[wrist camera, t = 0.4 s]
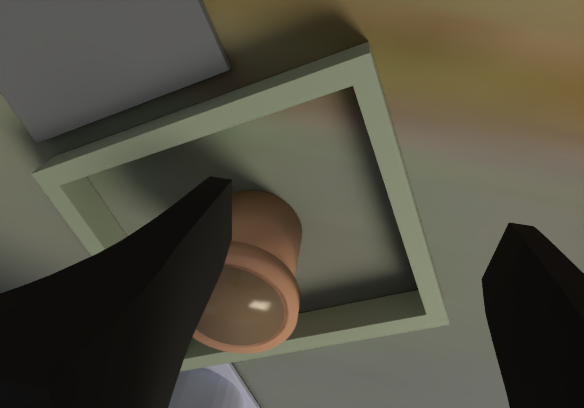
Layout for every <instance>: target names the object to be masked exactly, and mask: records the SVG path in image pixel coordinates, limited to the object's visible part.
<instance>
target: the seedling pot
mask: <svg viewBox="0 0 584 408" xmlns="http://www.w3.org/2000/svg"><path fill="white" fill-rule="evenodd" d="M301 239H302V227H301V223H300V220H299V218H298V216H297V214H296V212H295V211H294V210H293V208H292V207H291V206H290V205H289V204H287V203H286V202H285V201H284V200H282V199H281V198H279V197H277V196H275V195H273V194H270V193H267V192H263V191H256V190H248V191H241V192H237V193H234V194H232V240H231V243H230V247H229V250H228V254H227V257H226V260H225V263H224V266H223V270H222V272H221V274H220V277H219V279H218V281H217V283H216V286H215V288H214V290H213V292H212V295H211V297H210V299H209V301H208V303H207V306H206V308H205V310H204V312H203V315H202V317H201V319H200V321H199V323H198V326H197V328H196V330H195V332H194V334H193V338H194V339H196V340H197V341H199V342H201V343H203V344H205V345H207V346H210V347H212V348H215V349H218V350H221V351H226V352H231V353H241V354H247V353H258V352H262V351H266V350H269V349H272V348H274V347H276V346H278V345H280V344H281V343H283V342H284V341H285V340H286V339H287V338H288V337H289V336H290V335H291V334H292V332H293V330H294V328H295V326H296V323H297V319H298V312H299V305H300V290H299V286H298V283H297V281H296V279H295V275H296V269H297V263H298V257H299V251H300V245H301Z"/></svg>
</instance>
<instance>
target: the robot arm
mask: <svg viewBox="0 0 584 408" xmlns="http://www.w3.org/2000/svg"><path fill="white" fill-rule="evenodd" d="M231 240H232V180H230V179H224V178H217V177H211V176H210V177H209V178H207V179H206V180H204V181H203V182H202V183H201V184H199V185H198V186H197V187H195V188H194V189H193V190H192V191H190V192H189V193H188V194H187V195H185V196H184V197H183V198H182V199H180V200H179V201H178V202H176V203H175V204H174V205H172V206H171V207H170V208H168V209H167V210H166V211H164V212H163V213H162V214H160V215H159V216H158V217H156V218H155V219H153V220H152V221H150V222H149V223H147V224H146V225H144V226H143V227H141V228H140V229H138V230H137V231H135V232H134V233H132V234H131V235H129V236H128V237H126V238H124V239H123V240H121V241H119V242H117V243H116V244H114V245H112V246H110V247H108V248H106V249H105V250H103V251H101V252H99V253H97V254H95V255H93V256H91V257H89V258H87V259H85V260H83V261H80V262H78V263H76V264H74V265H72V266H70V267H67V268H65V269H63V270H61V271H59V272H56V273H54V274H52V275H49V276H47V277H44V278H42V279H39V280H37V281H34V282H32V283H29V284H26V285H23V286H21V287H18V288H15V289H12V290H10V291H7V292H4V293H1V294H0V408H260V407H259V405H258V404H257V402H256V401H255V399H254V398H253V396H252V394H251V393H250V391H249V390H248V388H247V387H246V385H245V384H244V382H243V381H242V379H241V377H240V376H239V374H238V373H237V371H236V370H235V368H234V367H233V365H232V364H231V363H226V364H220V365H215V366H209V367H203V368H197V369H192V370H186V371H180V369H181V366H182V363H183V360H184V357H185V354H186V352H187V349H188V347H189V344H190V342H191V339H192V337H193V334H194V332H195V330H196V328H197V326H198V323H199V321H200V319H201V317H202V315H203V312H204V310H205V308H206V306H207V303H208V301H209V299H210V297H211V295H212V292H213V290H214V288H215V286H216V283H217V281H218V279H219V277H220V274H221V272H222V270H223V266H224V263H225V260H226V257H227V254H228V250H229V247H230V243H231ZM482 287H483V297H484V305H485V313H486V317H487V322H488V326H489V329H490V333H491V337H492V341H493V345H494V348H495V352H496V356H497V359H498V363H499V367H500V371H501V374H502V378H503V382H504V385H505V389H506V393H507V397H508V402H509V406H510V408H584V273H582V272H581V271H580V270H579V269H578V268H577V267H576V266H575V265H574V264H573V263H572V262H571V261H570V260H569V259H568V258H567V257H566V256H565V255H564V254H563V253H562V252H561V251H560V250H559V249H558V248H557V247H556V246H555V245H554V244H553V243H552V242H551V241H549V240H548V239H547V238H546V237H545V236H544V235H543V234H542V233H541V232H540V231H539V230H537V229H536V228H535V227H534V226H528V225H522V224H515V223H508V226H507V228H506V230H505V232H504V234H503V236H502V238H501V240H500V242H499V244H498V246H497V248H496V251H495V253H494V255H493V257H492V259H491V261H490V263H489V265H488V267H487V269H486V271H485V273H484V276H483V278H482Z"/></svg>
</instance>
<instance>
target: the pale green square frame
mask: <svg viewBox="0 0 584 408" xmlns="http://www.w3.org/2000/svg"><path fill="white" fill-rule="evenodd" d="M351 86H353V87H354V91H355V94H356V97H357V100H358V103H359V106H360V109H361V112H362V115H363V119H364V122H365V125H366V128H367V131H368V134H369V137H370V140H371V143H372V147H373V150H374V153H375V156H376V159H377V162H378V165H379V168H380V171H381V175H382V178H383V181H384V184H385V187H386V190H387V193H388V196H389V200H390V203H391V206H392V209H393V212H394V215H395V218H396V221H397V224H398V228H399V231H400V234H401V237H402V240H403V243H404V246H405V249H406V252H407V256H408V259H409V262H410V265H411V268H412V271H413V274H414V277H415V281H416V284H417V287H418V290H415V291H410V292H405V293H399V294H394V295H389V296H384V297H379V298H374V299H369V300H364V301H359V302H354V303H349V304H344V305H339V306H334V307H329V308H324V309H319V310H314V311H309V312H304V313H299V314H298V319H297V323H296V326H295V328H294V330H293V332H292V334H291V335H290V336H289V337H288V338H287V339H286V340H285V341H284V342H283V343H281V344H280V345H278V346H276V347H274V348H272V349H269V350H266V351H262V352H258V353H247V354H241V353H231V352H226V351H221V350H218V349H215V348H212V347H210V346H207V345H205V344H203V343H201V342H199V341H197V340H196V339H194V338H193V337H192V339H191V342H190V344H189V347H188V349H187V352H186V354H185V357H184V360H183V363H182V366H181V369H180V371H186V370H192V369H197V368H203V367H209V366H215V365H220V364H226V363H232V362H238V361H243V360H249V359H255V358H261V357H266V356H272V355H278V354H284V353H289V352H295V351H301V350H306V349H312V348H318V347H324V346H329V345H335V344H341V343H347V342H352V341H358V340H364V339H370V338H375V337H381V336H387V335H393V334H398V333H404V332H410V331H416V330H421V329H427V328H433V327H438V326H444V325H450V324H449V320H448V316H447V312H446V308H445V303H444V299H443V296H442V292H441V289H440V285H439V282H438V278H437V275H436V272H435V268H434V265H433V261H432V258H431V254H430V251H429V247H428V244H427V241H426V237H425V234H424V230H423V227H422V223H421V220H420V216H419V213H418V210H417V206H416V203H415V199H414V196H413V192H412V189H411V185H410V182H409V178H408V175H407V172H406V168H405V165H404V161H403V158H402V154H401V151H400V147H399V144H398V141H397V137H396V134H395V130H394V127H393V123H392V120H391V116H390V113H389V110H388V106H387V103H386V99H385V96H384V92H383V89H382V85H381V82H380V78H379V75H378V72H377V68H376V65H375V61H374V58H373V54H372V51H371V47H370V44H369V41H368V42H366V43H363V44H360V45H357V46H355V47H352V48H349V49H346V50H344V51H341V52H338V53H335V54H333V55H330V56H327V57H325V58H322V59H319V60H316V61H314V62H311V63H308V64H305V65H303V66H300V67H297V68H294V69H292V70H289V71H286V72H283V73H281V74H278V75H275V76H273V77H270V78H267V79H264V80H262V81H259V82H256V83H253V84H251V85H248V86H245V87H242V88H240V89H237V90H234V91H231V92H229V93H226V94H223V95H221V96H218V97H215V98H212V99H210V100H207V101H204V102H201V103H199V104H196V105H193V106H190V107H188V108H185V109H182V110H179V111H177V112H174V113H171V114H169V115H166V116H163V117H160V118H158V119H155V120H152V121H149V122H147V123H144V124H141V125H138V126H136V127H133V128H130V129H127V130H125V131H122V132H119V133H116V134H114V135H111V136H108V137H106V138H103V139H100V140H97V141H95V142H92V143H89V144H86V145H84V146H81V147H78V148H75V149H73V150H70V151H67V152H64V153H62V154H59V155H56V156H54V157H53V158H51V159H50V160H49V161H47V162H46V163H45V164H43V165H42V166H41V167H40V168H38V169H37V170H36V171H34V172H33V173H32V174H31V175H32V176H33V177H34V179H35V180H36V181H37V183H38V184H39V185H40V187H41V188H42V189H43V191H44V192H45V194H46V195H47V196H48V198H49V199H50V200H51V202H52V203H53V204H54V206H55V207H56V208H57V210H58V211H59V212H60V214H61V215H62V216H63V218H64V219H65V221H66V222H67V223H68V225H69V226H70V227H71V229H72V230H73V231H74V233H75V234H76V235H77V237H78V238H79V239H80V241H81V242H82V243H83V245H84V246H85V248H86V249H87V250H88V252H89V253H90V254H91V256H93V255H95V254H97V253H99V252H101V251H103V250H105V249H106V248H108V247H110V246H112V245H114V244H116V243H117V242H119V241H121V240H123V239H124V238H126V237H127V236H126V234H125V233H124V231H123V230H122V228H121V227H120V226H119V224H118V223H117V221H116V220H115V218H114V217H113V215H112V214H111V212H110V211H109V209H108V208H107V206H106V205H105V203H104V202H103V200H102V199H101V197H100V196H99V194H98V193H97V192H96V190H95V189H94V187H93V186H92V184H91V183H90V181H89V180H88V178H87V177H86V176H89V175H92V174H95V173H98V172H101V171H104V170H107V169H110V168H113V167H116V166H118V165H121V164H124V163H127V162H130V161H133V160H136V159H139V158H142V157H145V156H148V155H151V154H154V153H157V152H160V151H163V150H165V149H168V148H171V147H174V146H177V145H180V144H183V143H186V142H189V141H192V140H195V139H198V138H201V137H204V136H207V135H210V134H212V133H215V132H218V131H221V130H224V129H227V128H230V127H233V126H236V125H239V124H242V123H245V122H248V121H251V120H254V119H257V118H260V117H262V116H265V115H268V114H271V113H274V112H277V111H280V110H283V109H286V108H289V107H292V106H295V105H298V104H301V103H304V102H307V101H309V100H312V99H315V98H318V97H321V96H324V95H327V94H330V93H333V92H336V91H339V90H342V89H345V88H348V87H351Z"/></svg>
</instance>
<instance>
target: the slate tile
mask: <svg viewBox="0 0 584 408" xmlns="http://www.w3.org/2000/svg"><path fill="white" fill-rule="evenodd" d="M230 69H231V64H230V62H229V60H228V58H227V55H226V53H225V51H224V49H223V46H222V44H221V42H220V40H219V37H218V35H217V33H216V31H215V28H214V26H213V24H212V22H211V19H210V17H209V15H208V13H207V10H206V8H205V6H204V4H203V1H202V0H0V93H1V94H2V95H3V97H4V98H5V100H6V101H7V102H8V104H9V105H10V107H11V108H12V109H13V111H14V112H15V114H16V115H17V117H18V118H19V119H20V121H21V122H22V124H23V125H24V126H25V128H26V129H27V131H28V132H29V133H30V135H31V136H32V138H33V139H34V141H35V142H36V143H39V142H42V141H45V140H47V139H50V138H53V137H55V136H58V135H60V134H63V133H66V132H68V131H71V130H74V129H76V128H79V127H81V126H84V125H87V124H89V123H92V122H95V121H97V120H100V119H102V118H105V117H108V116H110V115H113V114H116V113H118V112H121V111H123V110H126V109H129V108H131V107H134V106H137V105H139V104H142V103H144V102H147V101H150V100H152V99H155V98H158V97H160V96H163V95H165V94H168V93H171V92H173V91H176V90H179V89H181V88H184V87H186V86H189V85H192V84H194V83H197V82H200V81H202V80H205V79H207V78H210V77H213V76H215V75H218V74H220V73H223V72H226V71H228V70H230Z"/></svg>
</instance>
